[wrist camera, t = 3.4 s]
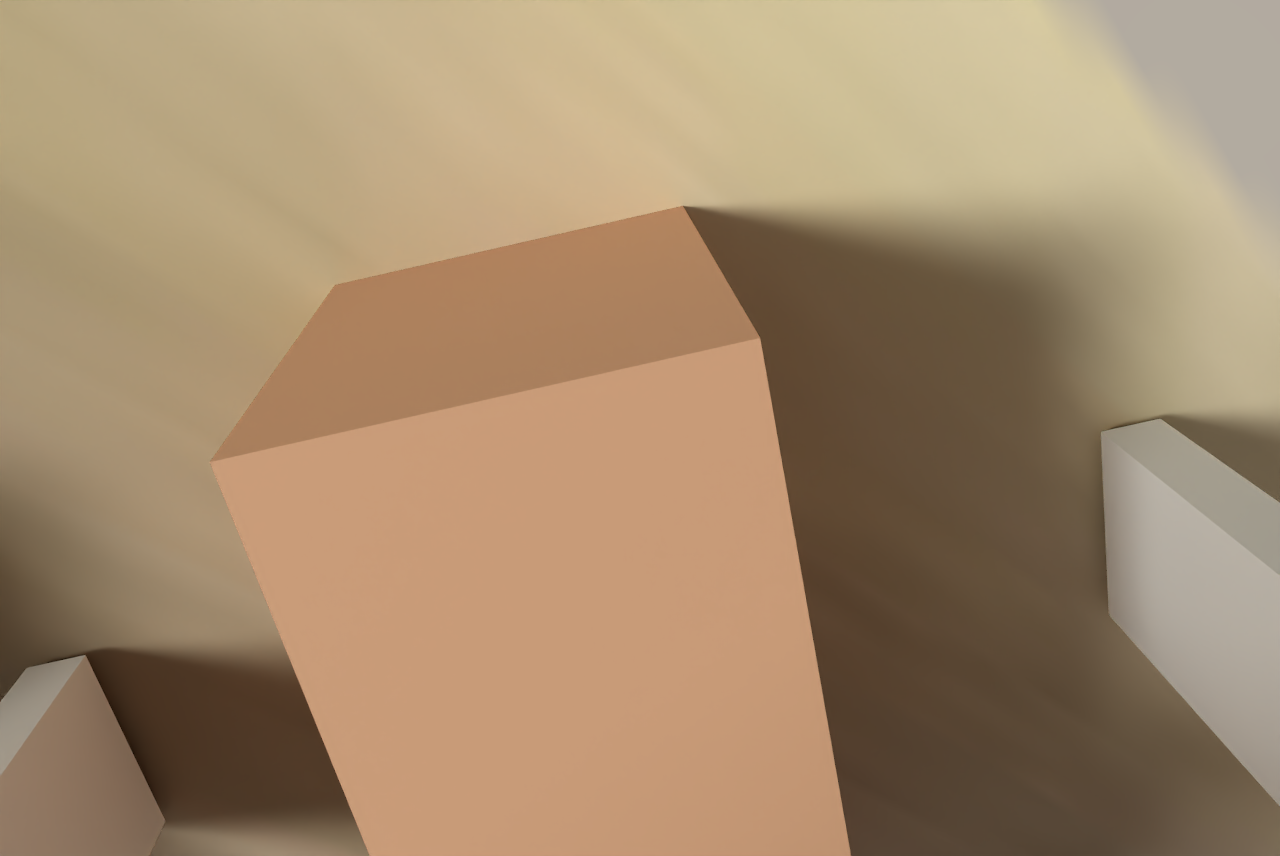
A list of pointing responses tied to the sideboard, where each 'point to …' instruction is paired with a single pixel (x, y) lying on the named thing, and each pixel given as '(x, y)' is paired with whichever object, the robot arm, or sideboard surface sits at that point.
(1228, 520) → the robot arm
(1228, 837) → the sideboard surface
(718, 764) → the terracotta stub
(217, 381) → the sideboard surface
